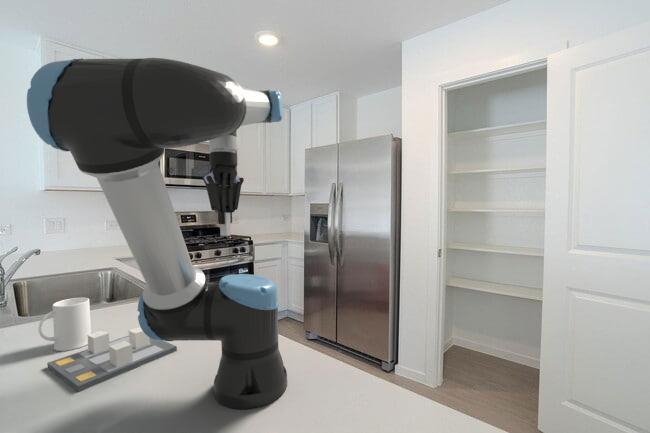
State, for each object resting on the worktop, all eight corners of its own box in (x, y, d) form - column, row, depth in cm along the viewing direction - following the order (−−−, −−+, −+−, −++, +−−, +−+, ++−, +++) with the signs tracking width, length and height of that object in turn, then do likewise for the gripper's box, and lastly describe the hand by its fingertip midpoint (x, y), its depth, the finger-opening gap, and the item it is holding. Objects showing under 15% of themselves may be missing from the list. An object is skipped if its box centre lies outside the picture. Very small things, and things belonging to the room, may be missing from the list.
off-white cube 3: (109, 348, 86) (108, 333, 85) (94, 353, 83) (93, 338, 82) (103, 345, 88) (102, 330, 87) (88, 350, 85) (87, 335, 84)
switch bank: (176, 350, 87) (176, 345, 87) (78, 391, 69) (78, 385, 69) (141, 335, 97) (141, 331, 97) (47, 367, 79) (47, 362, 79)
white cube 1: (132, 360, 79) (132, 344, 79) (117, 367, 76) (116, 350, 76) (125, 356, 81) (124, 341, 81) (109, 362, 78) (109, 346, 78)
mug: (45, 359, 83) (42, 312, 82) (33, 351, 88) (30, 306, 87) (98, 342, 93) (96, 300, 92) (84, 335, 97) (82, 295, 97)
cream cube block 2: (149, 343, 88) (149, 328, 88) (136, 348, 85) (135, 333, 85) (142, 340, 90) (142, 326, 90) (129, 345, 87) (128, 330, 87)
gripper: (232, 155, 101) (234, 232, 102) (194, 150, 90) (197, 237, 91) (249, 153, 96) (251, 233, 98) (212, 148, 86) (215, 238, 87)
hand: (225, 235), depth 94 cm, fingers closed
